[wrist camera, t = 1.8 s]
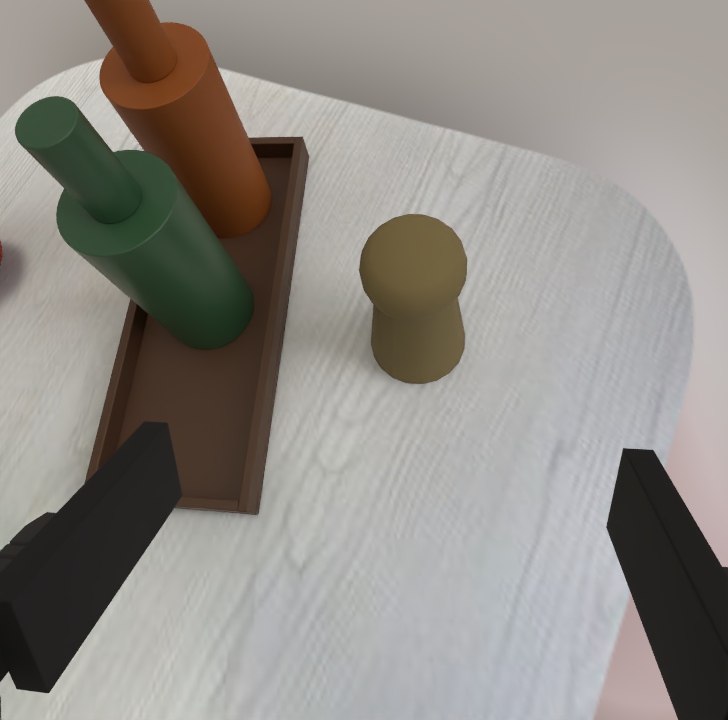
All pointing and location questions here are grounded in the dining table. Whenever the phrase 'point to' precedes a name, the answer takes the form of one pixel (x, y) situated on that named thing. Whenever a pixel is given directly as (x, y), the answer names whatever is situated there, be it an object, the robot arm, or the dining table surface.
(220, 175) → the amber bottle
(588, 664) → the dining table surface
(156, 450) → the robot arm
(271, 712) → the dining table surface
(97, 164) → the green bottle
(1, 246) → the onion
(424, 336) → the cork
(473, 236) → the dining table surface
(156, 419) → the tray
